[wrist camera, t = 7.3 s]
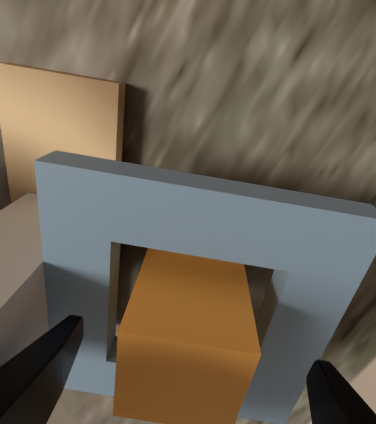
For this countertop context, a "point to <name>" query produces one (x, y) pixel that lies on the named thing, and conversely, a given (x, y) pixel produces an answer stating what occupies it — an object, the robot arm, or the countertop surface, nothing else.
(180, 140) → the countertop surface
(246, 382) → the orange square post
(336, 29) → the countertop surface
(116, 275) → the bracket
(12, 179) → the board
